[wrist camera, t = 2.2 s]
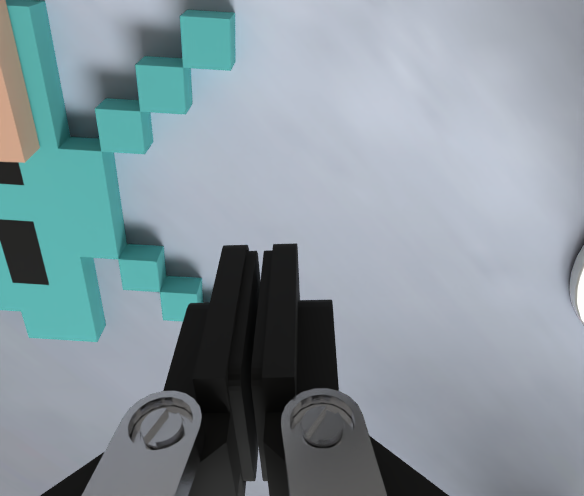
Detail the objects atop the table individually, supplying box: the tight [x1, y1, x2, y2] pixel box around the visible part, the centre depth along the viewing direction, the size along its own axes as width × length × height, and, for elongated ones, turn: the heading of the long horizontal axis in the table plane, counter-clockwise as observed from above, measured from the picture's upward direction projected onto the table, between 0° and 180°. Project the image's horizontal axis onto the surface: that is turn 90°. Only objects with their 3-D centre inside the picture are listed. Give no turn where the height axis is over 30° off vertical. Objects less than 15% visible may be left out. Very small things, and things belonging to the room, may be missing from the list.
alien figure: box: [0, 0, 235, 342], centre depth 30 cm, size 20×2×20 cm
